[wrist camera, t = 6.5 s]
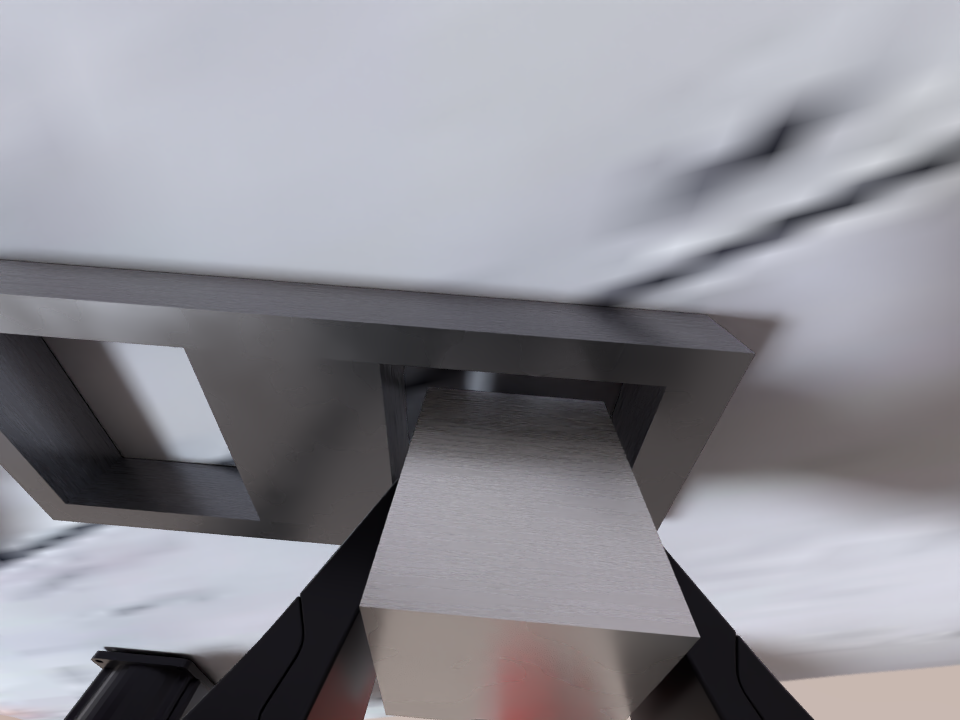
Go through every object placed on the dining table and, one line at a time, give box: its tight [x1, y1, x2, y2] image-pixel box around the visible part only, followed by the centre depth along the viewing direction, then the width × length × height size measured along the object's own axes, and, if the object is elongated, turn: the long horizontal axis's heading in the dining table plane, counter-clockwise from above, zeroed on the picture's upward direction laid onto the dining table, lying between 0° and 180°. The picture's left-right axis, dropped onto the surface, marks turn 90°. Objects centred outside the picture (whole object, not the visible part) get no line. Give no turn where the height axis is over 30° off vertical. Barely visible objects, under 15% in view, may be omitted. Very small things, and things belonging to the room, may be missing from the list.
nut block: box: [359, 387, 700, 720], centre depth 8 cm, size 4×4×5 cm
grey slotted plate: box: [0, 260, 755, 545], centre depth 10 cm, size 20×8×2 cm, turn 86°
